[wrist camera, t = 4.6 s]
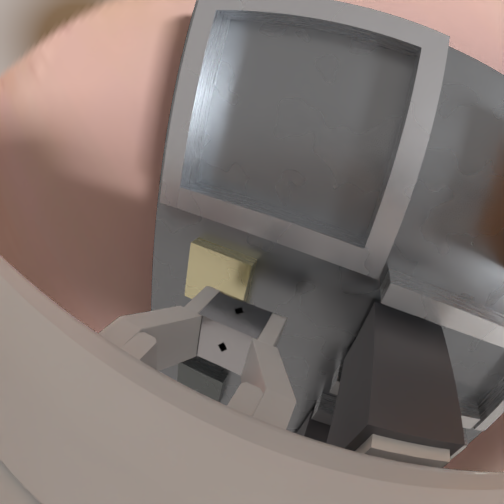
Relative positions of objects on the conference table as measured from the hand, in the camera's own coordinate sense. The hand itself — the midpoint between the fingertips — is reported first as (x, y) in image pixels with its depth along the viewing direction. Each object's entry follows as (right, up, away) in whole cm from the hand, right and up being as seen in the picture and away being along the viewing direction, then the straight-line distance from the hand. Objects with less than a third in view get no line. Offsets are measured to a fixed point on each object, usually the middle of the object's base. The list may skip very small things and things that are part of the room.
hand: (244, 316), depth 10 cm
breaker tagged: (+6, -1, 0) cm, 6 cm away
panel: (+6, 0, +2) cm, 6 cm away
